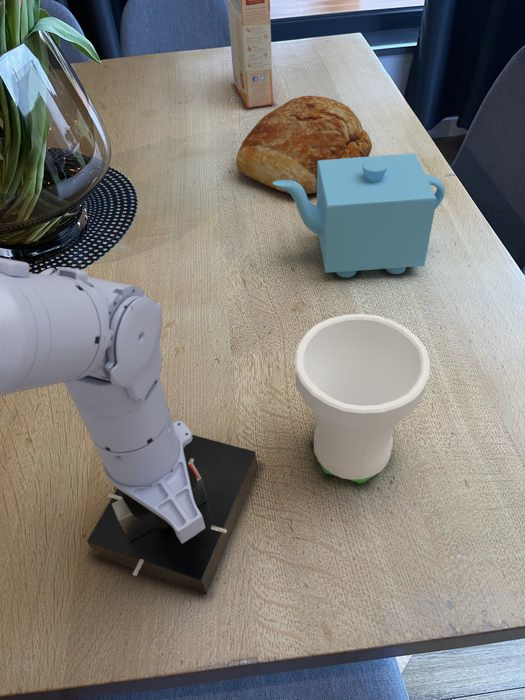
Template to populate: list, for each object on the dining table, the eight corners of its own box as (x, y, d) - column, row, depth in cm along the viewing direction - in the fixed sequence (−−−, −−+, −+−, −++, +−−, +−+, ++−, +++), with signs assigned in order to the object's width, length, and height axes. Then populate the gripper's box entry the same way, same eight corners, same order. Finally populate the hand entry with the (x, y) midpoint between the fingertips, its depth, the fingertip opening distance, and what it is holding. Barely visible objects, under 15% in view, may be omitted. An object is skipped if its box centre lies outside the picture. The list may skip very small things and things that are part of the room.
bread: (374, 161, 96) (380, 102, 89) (318, 211, 87) (319, 150, 79) (277, 134, 105) (275, 79, 98) (216, 177, 96) (209, 120, 88)
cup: (387, 401, 61) (404, 304, 50) (424, 491, 53) (453, 398, 43) (286, 418, 60) (282, 322, 50) (309, 512, 52) (309, 423, 42)
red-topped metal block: (129, 542, 48) (117, 519, 45) (122, 525, 49) (110, 502, 46) (207, 501, 50) (201, 476, 47) (199, 485, 52) (192, 461, 48)
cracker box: (275, 105, 114) (270, -13, 99) (246, 110, 114) (237, -9, 98) (259, 80, 124) (253, -32, 109) (233, 84, 123) (223, -28, 108)
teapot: (423, 226, 82) (439, 136, 72) (443, 274, 75) (463, 181, 65) (274, 237, 83) (270, 149, 73) (278, 286, 75) (274, 195, 65)
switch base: (204, 611, 47) (198, 597, 45) (84, 568, 50) (73, 553, 48) (261, 468, 56) (259, 451, 54) (156, 440, 59) (150, 422, 57)
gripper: (232, 458, 37) (247, 547, 47) (133, 336, 45) (164, 433, 55) (136, 519, 34) (174, 599, 44) (51, 378, 43) (98, 471, 53)
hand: (164, 510), depth 49 cm, fingers closed on red-topped metal block, 2 cm apart
